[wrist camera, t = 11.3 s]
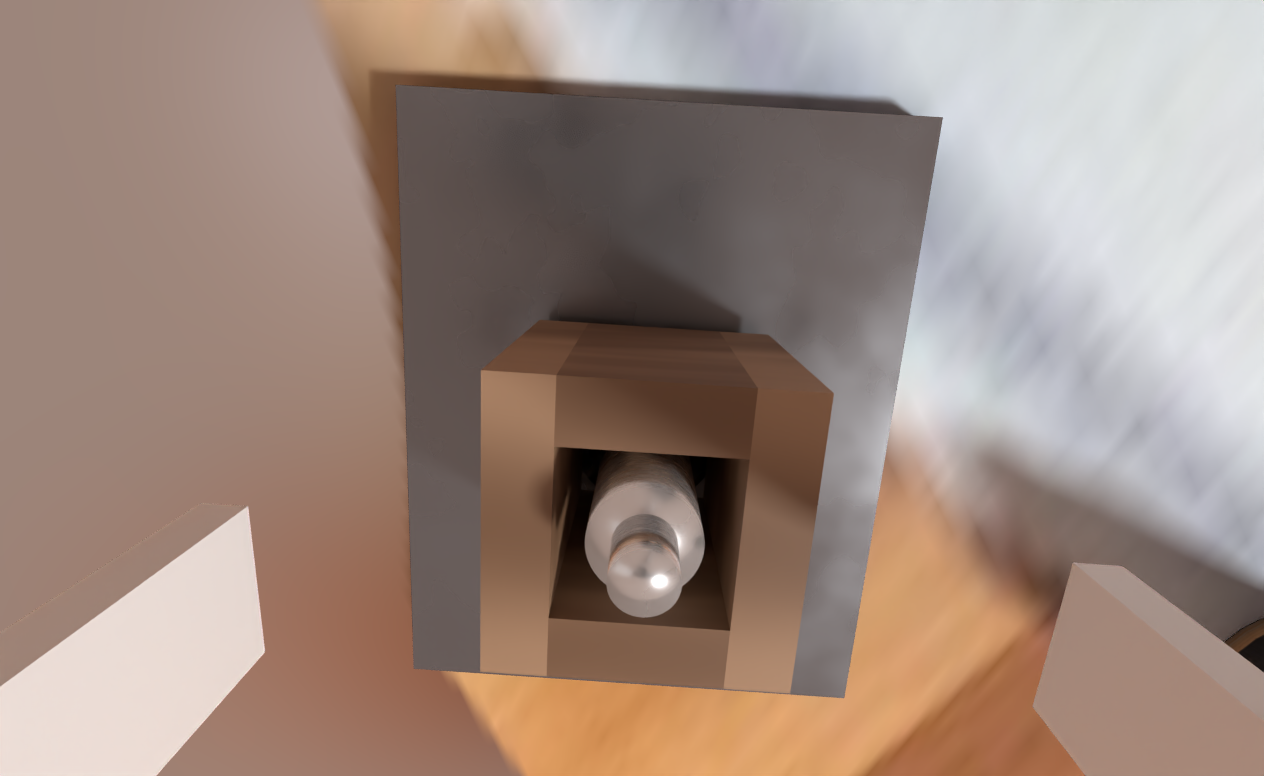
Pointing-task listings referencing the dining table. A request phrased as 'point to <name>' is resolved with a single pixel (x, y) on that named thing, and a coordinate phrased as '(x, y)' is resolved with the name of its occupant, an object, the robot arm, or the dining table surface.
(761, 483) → the hollow wooden cube
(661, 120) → the shaft stand
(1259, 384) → the dining table surface
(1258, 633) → the mug
